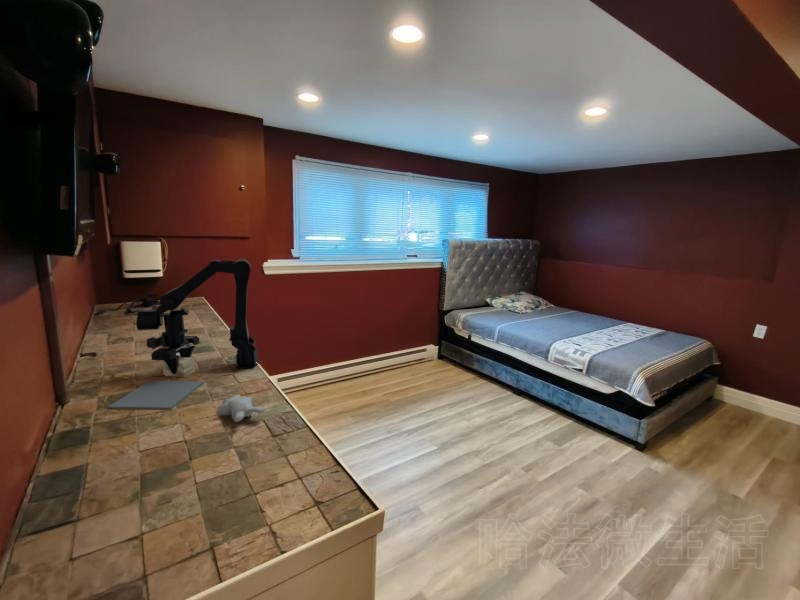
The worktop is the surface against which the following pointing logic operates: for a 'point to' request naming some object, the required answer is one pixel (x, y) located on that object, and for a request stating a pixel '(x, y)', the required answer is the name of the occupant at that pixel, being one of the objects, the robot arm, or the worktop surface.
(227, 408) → the bunny figurine
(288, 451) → the worktop surface
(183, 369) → the card box
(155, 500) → the worktop surface
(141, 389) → the rubber mat
